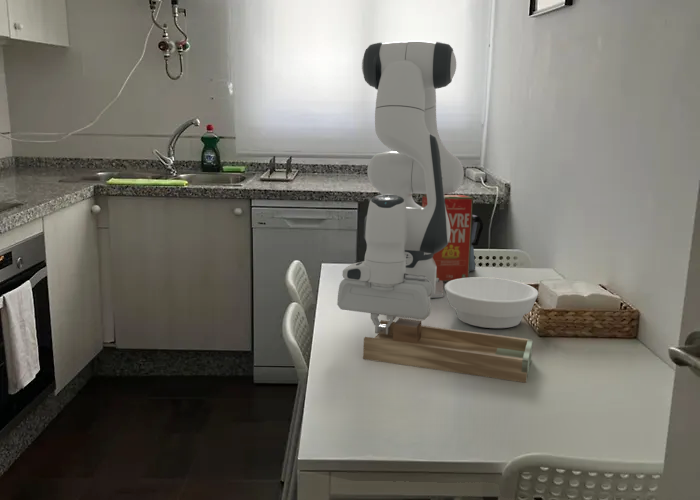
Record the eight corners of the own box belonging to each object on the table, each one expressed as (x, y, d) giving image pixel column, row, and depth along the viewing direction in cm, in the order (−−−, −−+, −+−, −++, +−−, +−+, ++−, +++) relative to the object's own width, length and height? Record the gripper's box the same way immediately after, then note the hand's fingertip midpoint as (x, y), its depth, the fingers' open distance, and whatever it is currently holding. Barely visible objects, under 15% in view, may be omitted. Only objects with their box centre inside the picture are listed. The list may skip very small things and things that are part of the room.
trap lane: (380, 339, 158) (381, 320, 157) (531, 359, 148) (532, 339, 147) (363, 358, 146) (363, 338, 145) (525, 382, 136) (527, 360, 135)
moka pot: (454, 262, 234) (457, 203, 229) (491, 272, 222) (495, 209, 218) (434, 266, 228) (437, 205, 223) (471, 276, 216) (475, 212, 212)
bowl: (423, 317, 175) (425, 285, 173) (482, 302, 189) (484, 272, 188) (496, 343, 158) (498, 307, 157) (554, 324, 173) (557, 291, 171)
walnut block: (398, 335, 155) (399, 318, 154) (420, 338, 154) (421, 320, 153) (392, 342, 151) (393, 324, 150) (415, 345, 149) (416, 327, 148)
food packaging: (428, 282, 205) (431, 196, 202) (417, 276, 214) (420, 194, 211) (470, 281, 209) (474, 196, 205) (458, 275, 218) (462, 194, 214)
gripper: (435, 273, 150) (432, 335, 153) (345, 263, 157) (343, 323, 160) (429, 280, 145) (426, 344, 147) (335, 270, 151) (334, 331, 154)
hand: (382, 333), depth 154 cm, fingers closed
